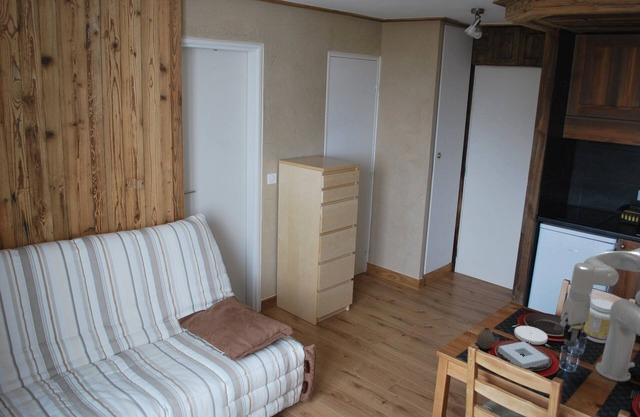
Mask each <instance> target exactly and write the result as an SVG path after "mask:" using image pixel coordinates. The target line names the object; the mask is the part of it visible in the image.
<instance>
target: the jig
mask: <svg viewBox="0 0 640 417" xmlns="http://www.w3.org/2000/svg"><path fill="white" fill-rule="evenodd" d="M497 348H498V349H497V353H498V352H499V353H500V354H502V355H503V356H504V357H505V358H507V359H508V360H510V362H511V363H513V364H515V365H518V366H521V367H523V368H529V367H537V366H540V365H543V364H546V363H548V364H549V361H550V358H549V357H548V356H547V355H546V354H544V353H542V352H541V351H539V350H537V349H536V348H535V347H534V346H532V344H530V343H526V342H525V341H520V342H519V341H518V342H514V343H509V344H504V345H499V346H498V347H497ZM520 354H524V355H525V356H524V357H523V356H522V355H520Z"/></svg>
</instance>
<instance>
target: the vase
mask: <svg viewBox="0 0 640 417" xmlns="http://www.w3.org/2000/svg"><path fill="white" fill-rule="evenodd" d="M476 339H477V340H476V342H477V343H476V344H477V345H478V347H479V348H480V349H483V350H490V347H491V348H492V347H493V345H494V342H495V337H494V334H493V332H492V330H491V328H490V327H484V328H483V329H482V330H481V331H480V332H479V333H478V334H477V338H476Z"/></svg>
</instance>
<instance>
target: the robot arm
mask: <svg viewBox="0 0 640 417" xmlns="http://www.w3.org/2000/svg"><path fill="white" fill-rule="evenodd" d="M617 270H624V271H629V272H634V273H635V272H636V273H640V247H638V248H636V249H632V250H619V251H618V250H617V251H605V252H602V253H598V254H595V255H592V256H590V257H588V258H587V259H585V260H584V261H583V262H579V263H576V264H575V265H574V267H573V270H572V276H571V282H570V287H569V291H568V292H569V293H568V296H567V297H566V299H565V300H564V304H563V307H562V311H561V315H560V320H561V321H560V322H559V325H560V326H562V327H563V329H564V330H563V334H562V338H563V339H564V340H565V339H566V340H568V341H570V340H571V336H572V331H571V330H572V328H571V327H572V326H573V325H574V324H579V323H580V324H582V325H583V326H582V328H581V329H579V331H578V336H577V340H580V337H581V333H582V331H583V327H584V325H585V323H586V322H587V321H588V320H589V318H588V317H589V312H590V304H591V298H592V297H591V296H592V292H593V289H594V286H595V285H596V286H602V287H611V286H614V285H615V284H617V282H618V281H619V278H620V274H619V272H618V271H617ZM635 301H636V303H635V302H633V301H631V300H629V299H626V298H621V299H620V298H619V299H617V300H615V301H614V302H612V303H613V304H612V306H611V309H610V326H609V331H608V335H607V340H606V343H604V348H603V354H602V358H601V361H599V362H597V363H596V365H595V370H596V371H597V373H598V374H599V375H601V376H603V377H604V378H606V379H608V380H612V381H615V382H627V381H629V380H630V379H631V376H632V375H631V373H630V371H629V370H630V369H631V368H634V367H635V365H636V364H635V362H633V361H631V357H632V353H633V349H634V345H635V341H636V336H640V290H638V291H637V293H636V294H635ZM567 324H569V325H570V326H569V327H568V325H567ZM630 361H631V362H630Z"/></svg>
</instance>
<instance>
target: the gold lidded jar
mask: <svg viewBox="0 0 640 417" xmlns="http://www.w3.org/2000/svg"><path fill="white" fill-rule="evenodd" d="M567 325H568V327H569V326H570V325H569V324H567ZM582 326H583V325H582V324H580V323H579V324H574V325H573V326H572V327H571V328H572V330H571V331H572V336H571V340H570V341H568V340H566V339H565V338H564V345H566V346H567V347H571V348H574V347H576V345H577V340H578V339H577V336H578V331H579V329H581V328H582ZM583 327H584V326H583Z"/></svg>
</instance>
